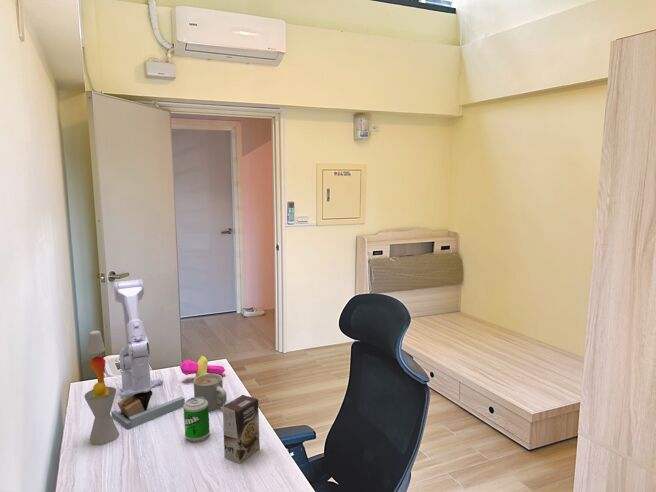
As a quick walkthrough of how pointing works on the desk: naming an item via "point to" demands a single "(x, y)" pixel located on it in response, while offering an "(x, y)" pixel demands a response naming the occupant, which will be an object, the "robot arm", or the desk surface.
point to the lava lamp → (100, 396)
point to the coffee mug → (210, 390)
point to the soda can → (196, 419)
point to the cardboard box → (130, 406)
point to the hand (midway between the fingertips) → (143, 411)
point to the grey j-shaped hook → (148, 413)
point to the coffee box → (241, 428)
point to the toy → (200, 367)
